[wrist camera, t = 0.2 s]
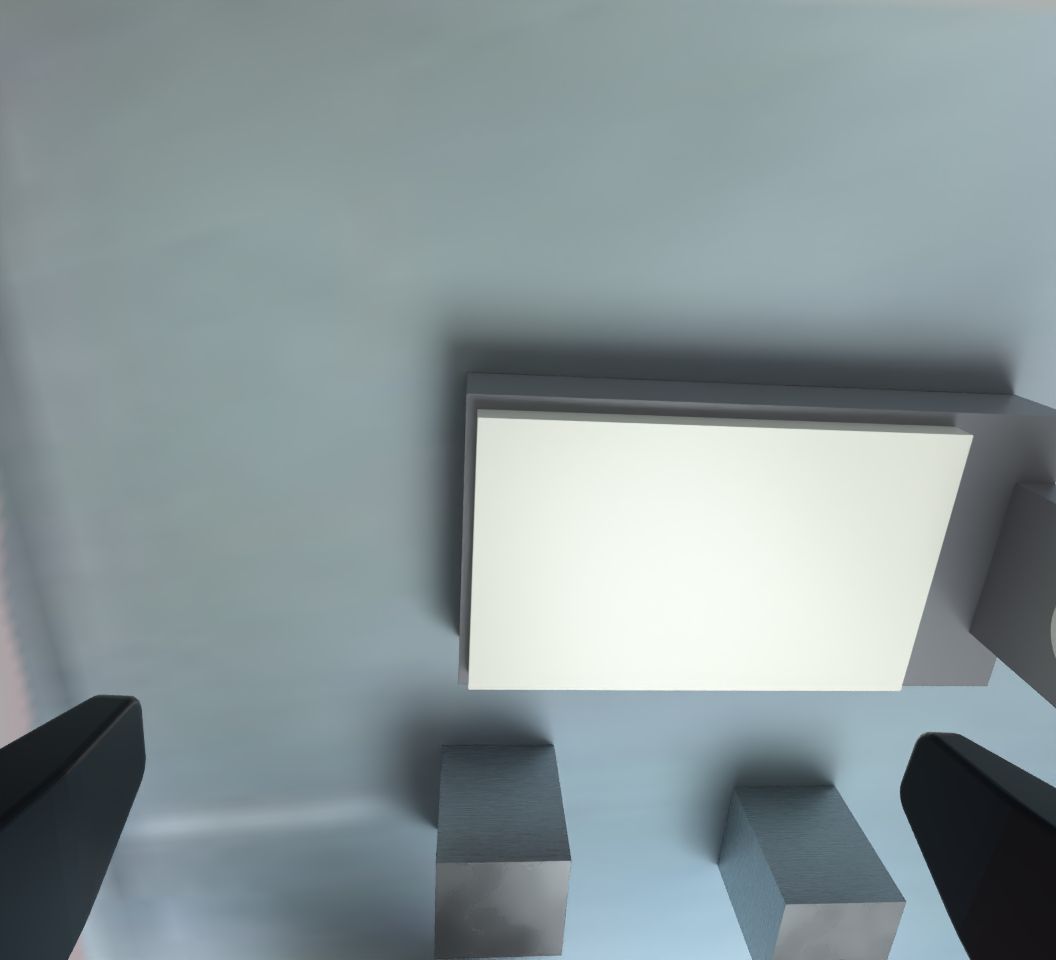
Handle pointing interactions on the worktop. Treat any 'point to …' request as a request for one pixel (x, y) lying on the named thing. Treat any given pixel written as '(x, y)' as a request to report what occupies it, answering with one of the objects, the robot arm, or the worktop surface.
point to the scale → (753, 537)
